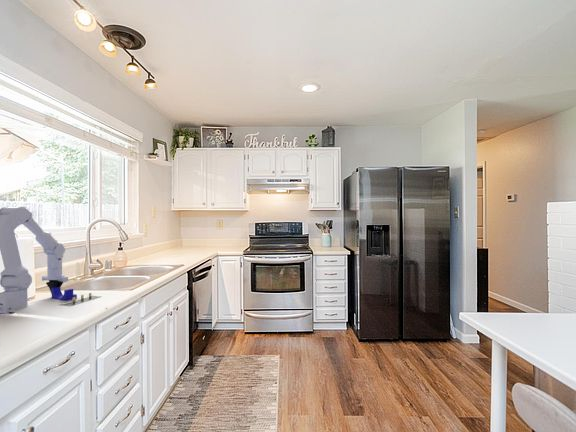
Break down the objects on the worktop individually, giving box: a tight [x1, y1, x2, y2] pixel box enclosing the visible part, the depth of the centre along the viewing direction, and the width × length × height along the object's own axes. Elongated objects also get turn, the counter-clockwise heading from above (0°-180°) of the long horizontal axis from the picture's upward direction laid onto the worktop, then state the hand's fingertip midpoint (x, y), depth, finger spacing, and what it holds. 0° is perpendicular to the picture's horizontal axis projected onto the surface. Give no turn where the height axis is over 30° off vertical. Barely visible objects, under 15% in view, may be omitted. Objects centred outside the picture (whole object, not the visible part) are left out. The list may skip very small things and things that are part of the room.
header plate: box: [59, 295, 102, 307], centre depth 140 cm, size 16×7×1 cm, turn 164°
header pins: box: [72, 292, 92, 303], centre depth 140 cm, size 9×1×3 cm, turn 164°
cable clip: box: [51, 287, 78, 302], centre depth 145 cm, size 12×4×6 cm, turn 64°
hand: (55, 295), depth 149 cm, fingers closed
